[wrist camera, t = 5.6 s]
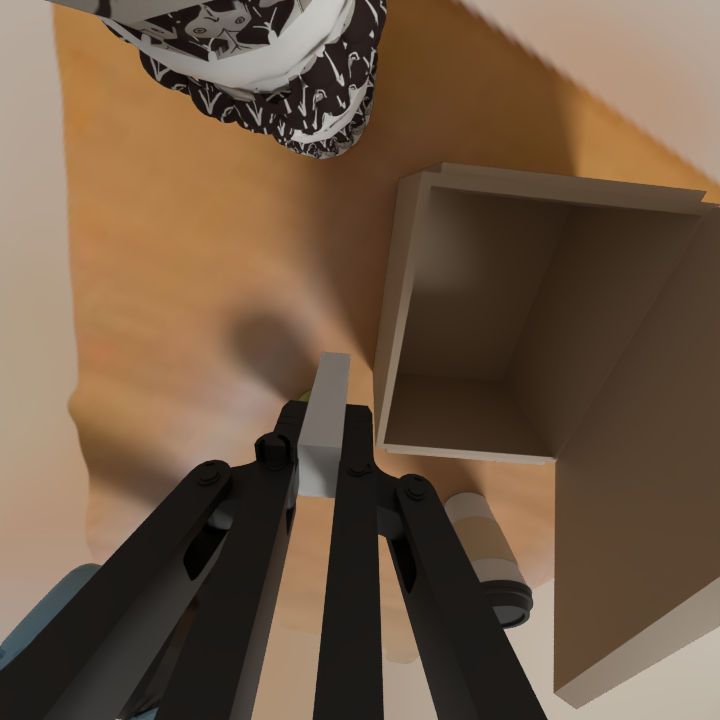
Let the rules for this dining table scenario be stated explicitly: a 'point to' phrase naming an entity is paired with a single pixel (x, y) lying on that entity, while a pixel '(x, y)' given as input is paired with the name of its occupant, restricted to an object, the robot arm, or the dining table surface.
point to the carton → (514, 304)
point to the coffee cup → (490, 558)
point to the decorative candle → (261, 61)
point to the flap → (644, 493)
